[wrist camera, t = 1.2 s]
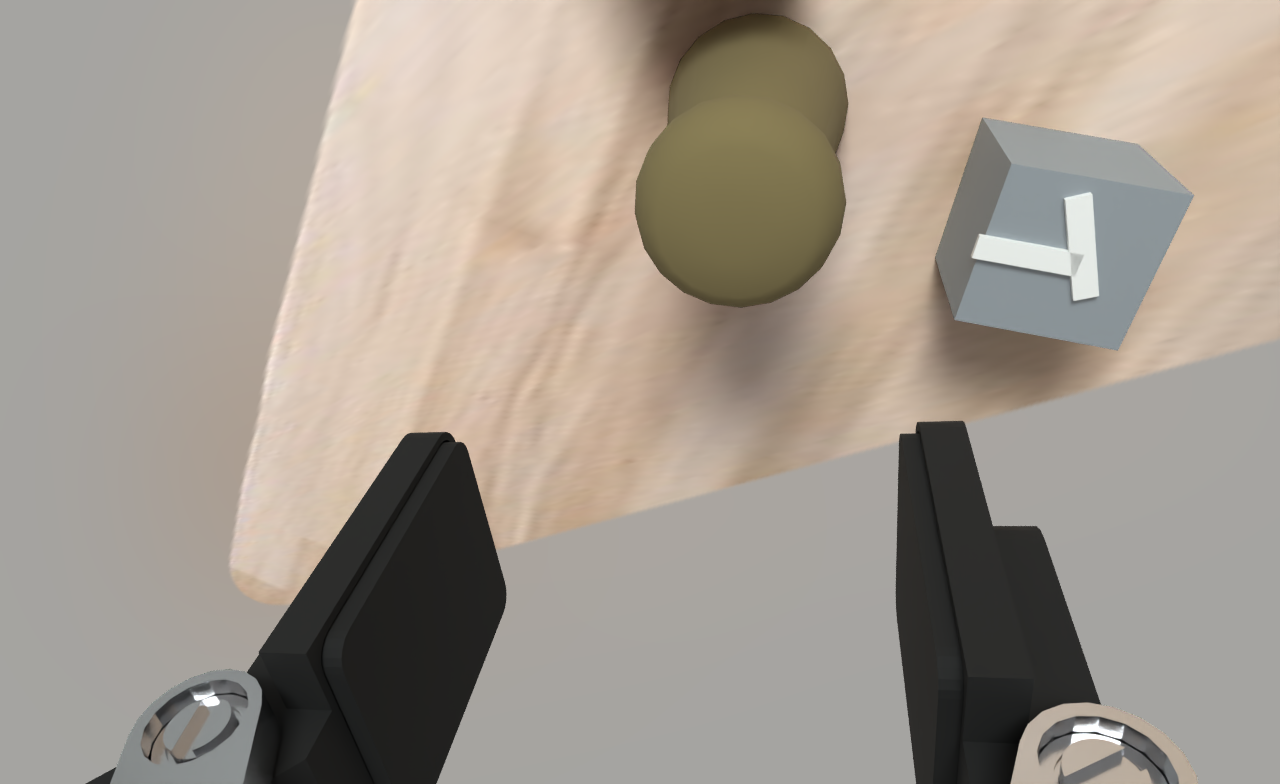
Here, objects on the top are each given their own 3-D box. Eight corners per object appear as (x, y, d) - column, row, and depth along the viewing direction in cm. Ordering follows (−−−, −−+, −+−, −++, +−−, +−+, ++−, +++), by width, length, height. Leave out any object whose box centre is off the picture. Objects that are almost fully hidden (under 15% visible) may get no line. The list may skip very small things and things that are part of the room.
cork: (779, 227, 32) (768, 384, 23) (635, 137, 31) (563, 262, 22) (886, 79, 29) (924, 192, 19) (730, -26, 28) (692, 40, 19)
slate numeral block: (1137, 143, 29) (1196, 197, 24) (1076, 282, 31) (1119, 353, 27) (975, 115, 29) (1005, 164, 24) (929, 255, 32) (948, 321, 27)
